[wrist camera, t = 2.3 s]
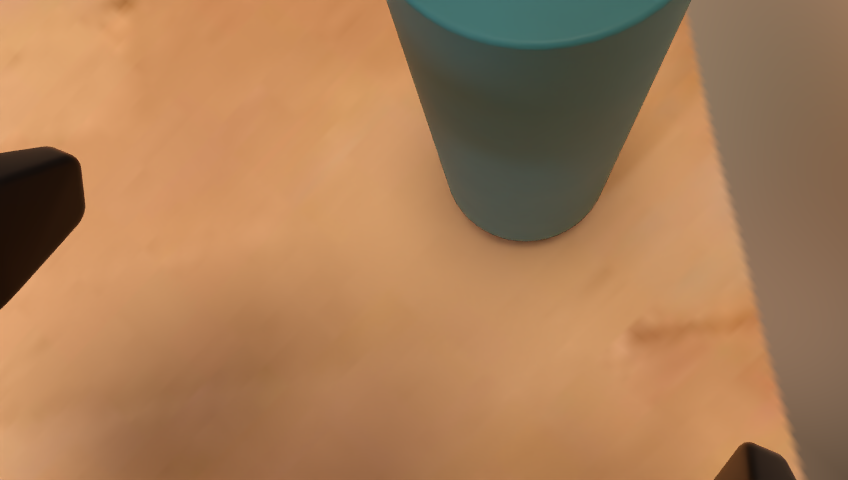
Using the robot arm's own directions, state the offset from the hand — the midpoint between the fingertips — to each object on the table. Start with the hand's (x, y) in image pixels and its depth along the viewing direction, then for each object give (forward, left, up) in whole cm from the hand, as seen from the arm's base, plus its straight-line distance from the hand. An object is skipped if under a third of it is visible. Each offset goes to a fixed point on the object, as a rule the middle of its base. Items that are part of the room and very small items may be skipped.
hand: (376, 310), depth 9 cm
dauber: (+5, +2, -12) cm, 13 cm away
